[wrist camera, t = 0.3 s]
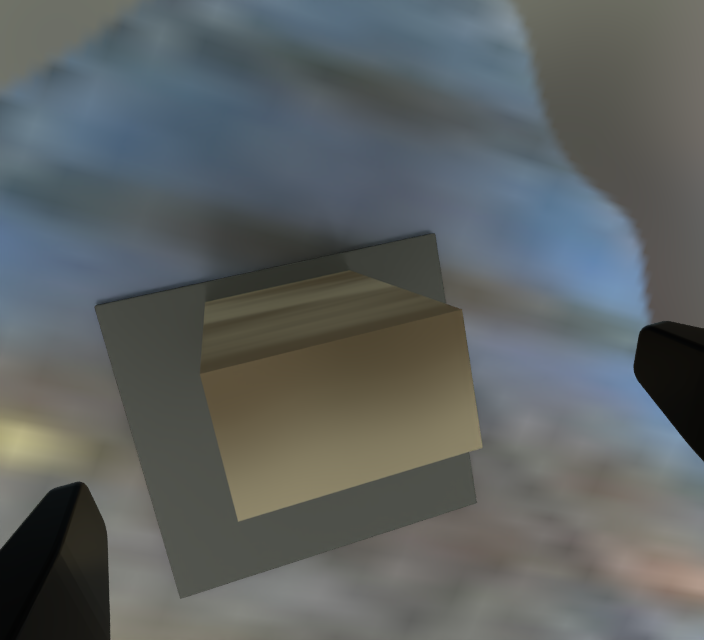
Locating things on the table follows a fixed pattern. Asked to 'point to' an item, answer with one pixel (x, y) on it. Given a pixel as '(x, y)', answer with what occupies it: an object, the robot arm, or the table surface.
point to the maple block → (333, 387)
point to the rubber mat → (201, 443)
